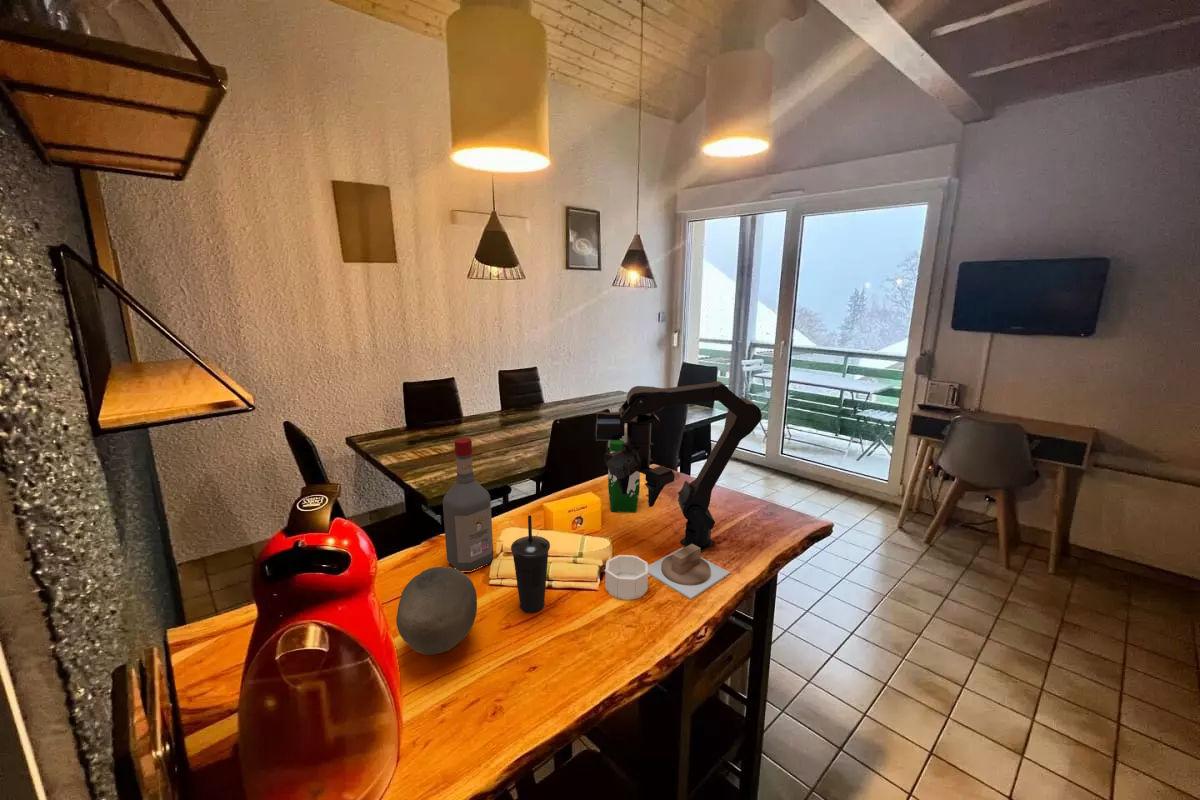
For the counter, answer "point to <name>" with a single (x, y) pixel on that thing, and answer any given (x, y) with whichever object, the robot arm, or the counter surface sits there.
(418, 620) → the dark grey round stone
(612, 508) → the milk carton
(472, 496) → the liquor
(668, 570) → the lid
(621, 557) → the bowl
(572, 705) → the counter surface
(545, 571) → the drinking cup
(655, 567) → the mat
